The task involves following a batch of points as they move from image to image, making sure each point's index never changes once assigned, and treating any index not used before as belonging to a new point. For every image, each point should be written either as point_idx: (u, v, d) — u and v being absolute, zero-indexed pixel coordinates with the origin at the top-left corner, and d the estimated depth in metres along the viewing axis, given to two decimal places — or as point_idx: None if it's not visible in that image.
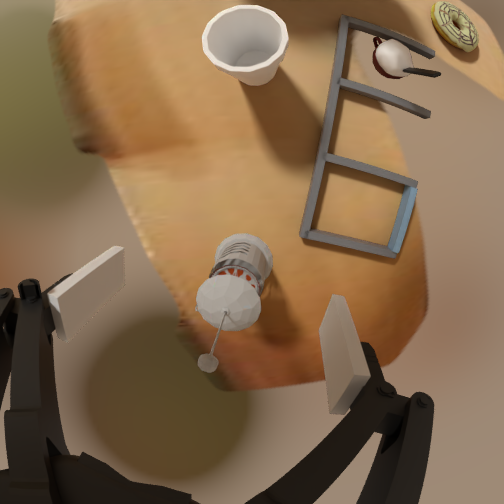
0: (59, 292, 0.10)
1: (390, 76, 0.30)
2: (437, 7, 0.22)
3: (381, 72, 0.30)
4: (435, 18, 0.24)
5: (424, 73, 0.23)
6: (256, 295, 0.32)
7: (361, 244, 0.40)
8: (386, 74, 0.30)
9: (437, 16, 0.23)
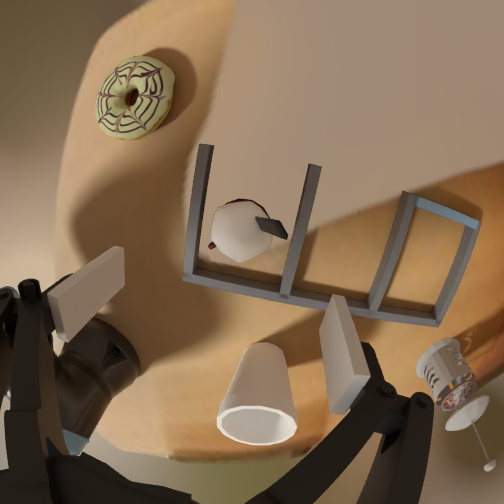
0: (59, 292, 0.10)
1: None
2: (114, 134, 0.27)
3: None
4: (136, 137, 0.27)
5: (277, 236, 0.22)
6: (472, 402, 0.23)
7: (461, 267, 0.29)
8: None
9: (131, 136, 0.27)
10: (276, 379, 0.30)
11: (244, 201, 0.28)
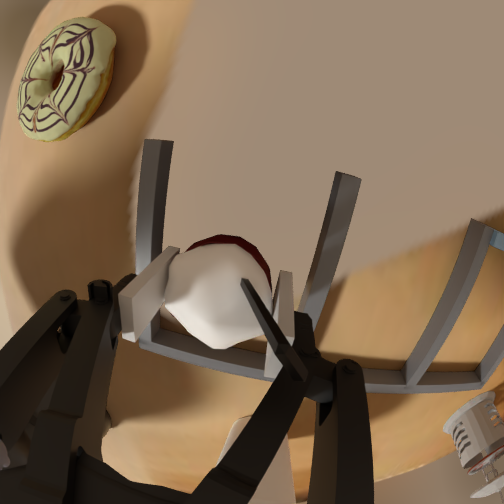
0: (131, 292, 0.12)
1: None
2: (32, 135, 0.14)
3: None
4: (58, 137, 0.15)
5: None
6: None
7: None
8: None
9: (51, 135, 0.14)
10: (273, 477, 0.18)
11: (222, 244, 0.15)
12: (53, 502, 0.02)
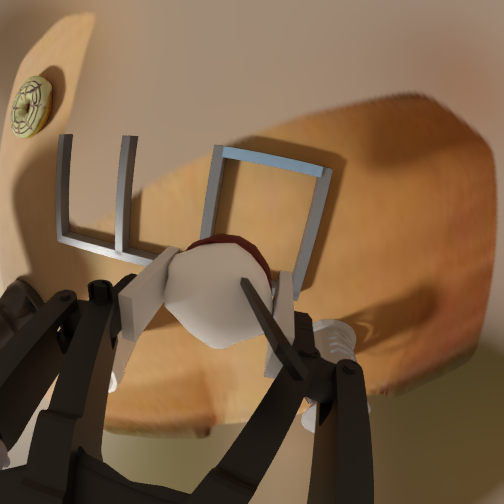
0: (131, 292, 0.12)
1: None
2: (18, 135, 0.28)
3: None
4: (29, 136, 0.29)
5: None
6: None
7: (309, 225, 0.31)
8: None
9: (25, 135, 0.28)
10: None
11: (222, 244, 0.15)
12: (53, 502, 0.02)
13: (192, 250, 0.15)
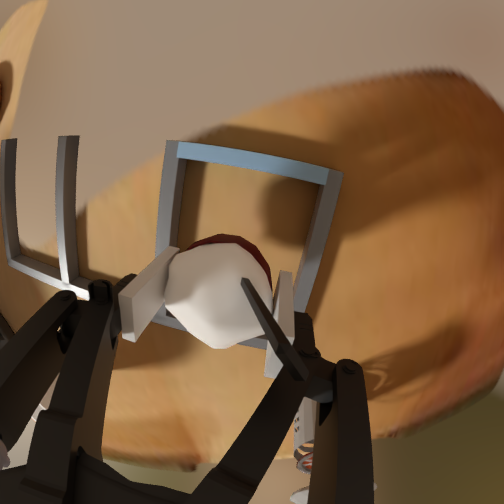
0: (131, 292, 0.12)
1: None
2: None
3: None
4: None
5: None
6: None
7: (307, 256, 0.21)
8: None
9: None
10: None
11: (222, 244, 0.15)
12: (53, 502, 0.02)
13: (192, 250, 0.15)
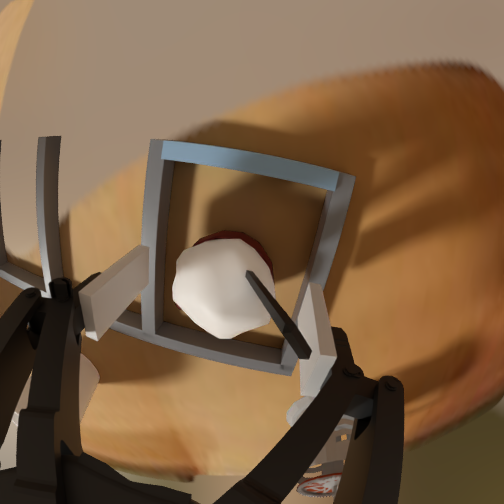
0: (91, 290, 0.11)
1: None
2: None
3: None
4: None
5: None
6: None
7: (313, 273, 0.18)
8: None
9: None
10: None
11: (227, 239, 0.16)
12: (53, 502, 0.02)
13: (199, 245, 0.16)
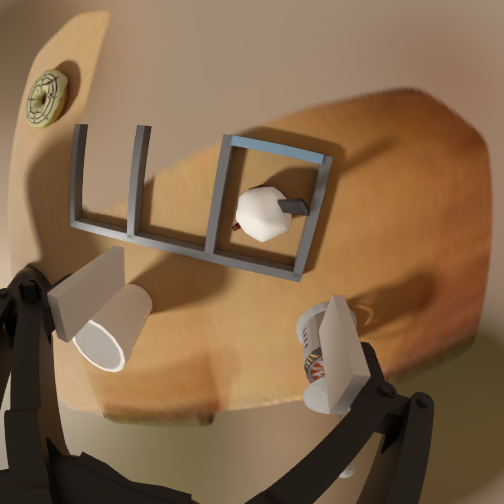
0: (59, 292, 0.10)
1: None
2: (33, 125, 0.31)
3: None
4: (44, 126, 0.31)
5: (299, 214, 0.25)
6: None
7: (311, 209, 0.32)
8: None
9: (41, 125, 0.31)
10: (118, 307, 0.34)
11: (267, 186, 0.30)
12: (53, 502, 0.02)
13: (252, 189, 0.30)
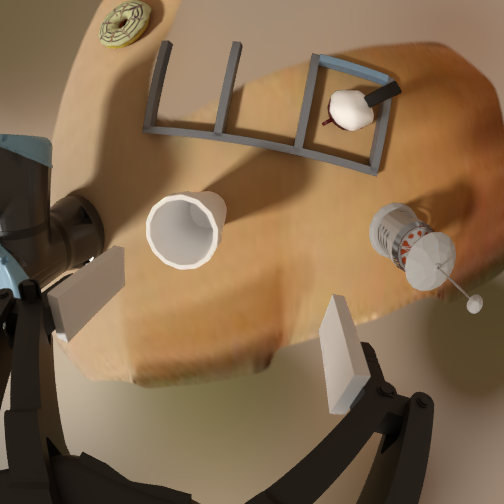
0: (59, 292, 0.10)
1: None
2: (109, 43, 0.32)
3: None
4: (123, 44, 0.32)
5: (391, 96, 0.26)
6: (427, 235, 0.28)
7: (382, 114, 0.34)
8: None
9: (120, 42, 0.32)
10: (205, 195, 0.35)
11: None
12: (53, 502, 0.02)
13: (342, 90, 0.31)
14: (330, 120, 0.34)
